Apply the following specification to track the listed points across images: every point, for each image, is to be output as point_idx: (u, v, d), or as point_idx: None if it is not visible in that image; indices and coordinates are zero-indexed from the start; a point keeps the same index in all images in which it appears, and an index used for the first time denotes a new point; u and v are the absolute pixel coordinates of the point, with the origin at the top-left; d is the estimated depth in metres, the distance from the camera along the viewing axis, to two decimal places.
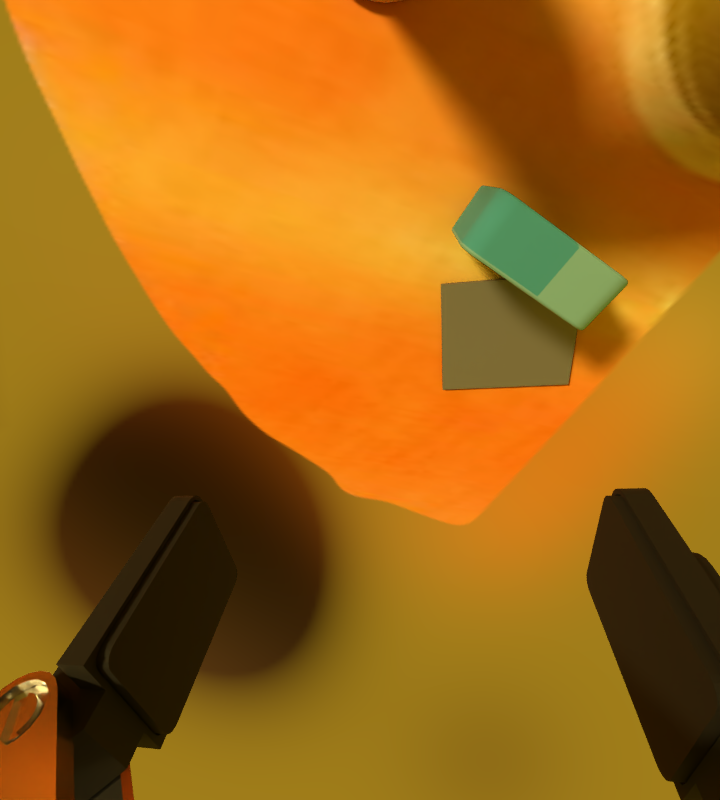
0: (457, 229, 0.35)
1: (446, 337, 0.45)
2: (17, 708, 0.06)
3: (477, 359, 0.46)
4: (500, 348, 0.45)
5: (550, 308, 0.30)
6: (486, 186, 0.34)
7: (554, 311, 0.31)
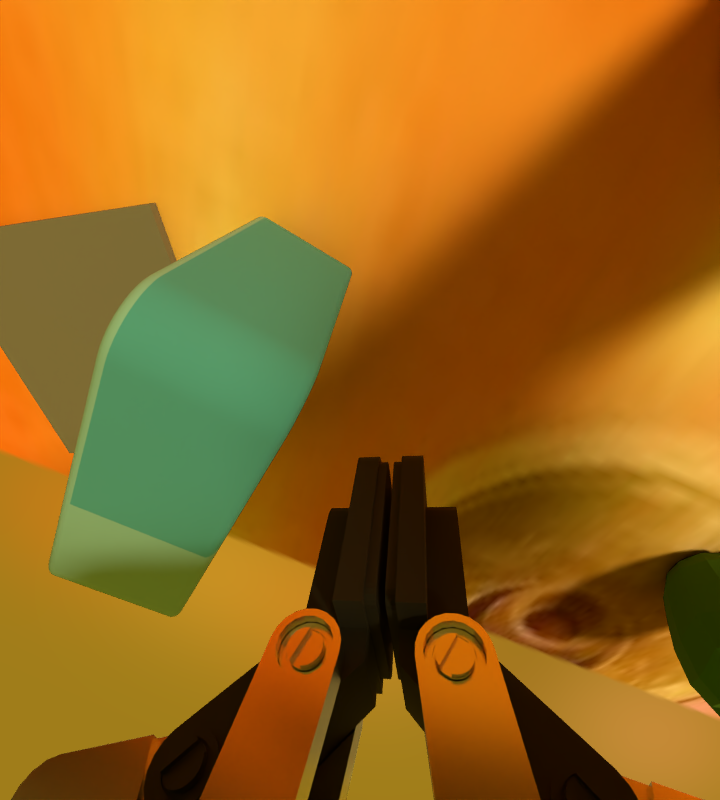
0: (244, 237, 0.14)
1: (45, 231, 0.20)
2: (302, 640, 0.07)
3: (34, 304, 0.22)
4: (75, 344, 0.23)
5: (58, 528, 0.12)
6: (344, 290, 0.15)
7: (56, 535, 0.12)
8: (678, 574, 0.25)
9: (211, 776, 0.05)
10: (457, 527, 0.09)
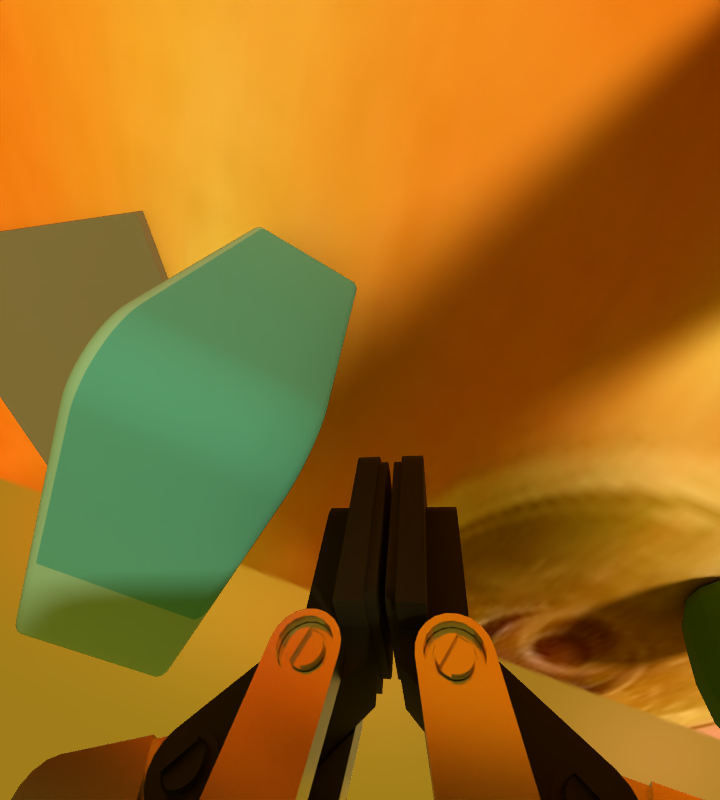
0: (239, 252, 0.12)
1: (23, 241, 0.18)
2: (302, 640, 0.07)
3: (12, 319, 0.20)
4: (57, 361, 0.21)
5: (24, 588, 0.10)
6: (349, 309, 0.14)
7: (22, 595, 0.11)
8: (699, 602, 0.24)
9: (211, 776, 0.05)
10: (457, 527, 0.09)
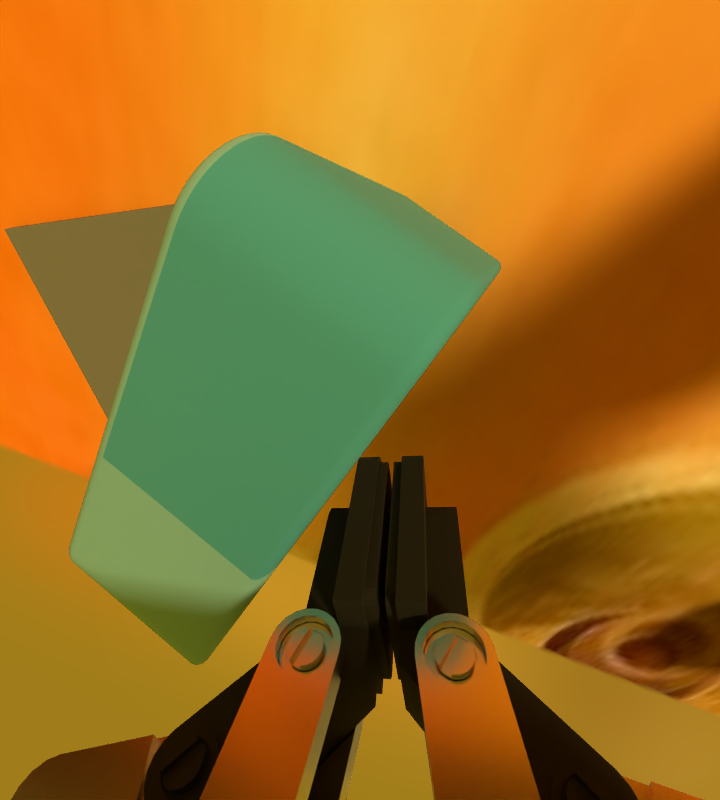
0: (384, 188, 0.11)
1: (142, 222, 0.17)
2: (301, 641, 0.07)
3: (117, 306, 0.19)
4: None
5: (86, 493, 0.09)
6: (497, 267, 0.12)
7: (82, 503, 0.09)
8: None
9: (211, 776, 0.05)
10: (457, 527, 0.09)
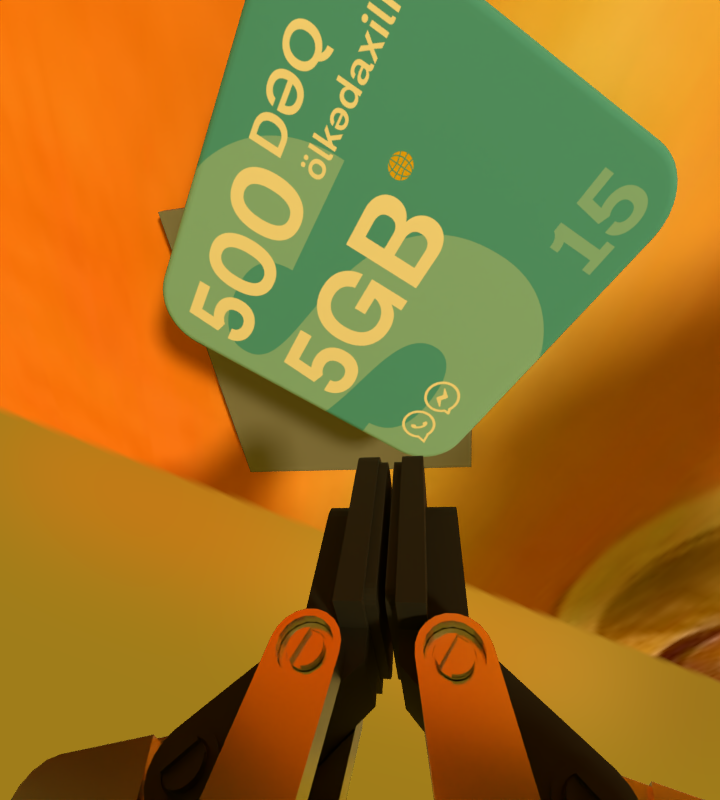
0: None
1: None
2: (301, 640, 0.07)
3: None
4: None
5: None
6: (577, 76, 0.10)
7: None
8: None
9: (211, 776, 0.05)
10: (457, 527, 0.09)
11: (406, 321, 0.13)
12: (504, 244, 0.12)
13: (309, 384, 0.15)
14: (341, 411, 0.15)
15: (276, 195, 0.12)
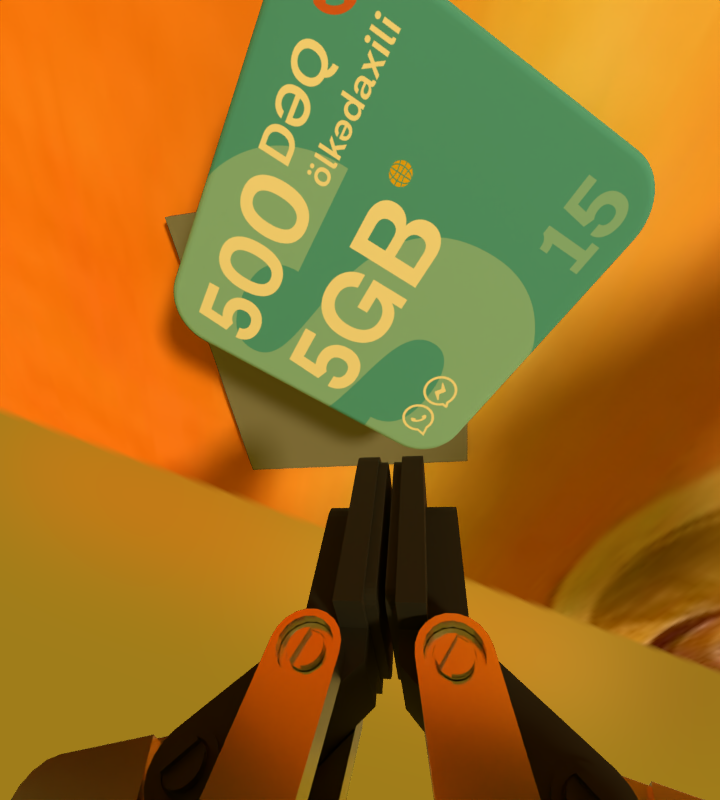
0: None
1: None
2: (301, 640, 0.07)
3: None
4: None
5: None
6: (562, 92, 0.11)
7: None
8: None
9: (211, 776, 0.05)
10: (457, 527, 0.09)
11: (406, 319, 0.14)
12: (497, 246, 0.12)
13: (313, 380, 0.16)
14: (344, 406, 0.16)
15: (283, 201, 0.12)
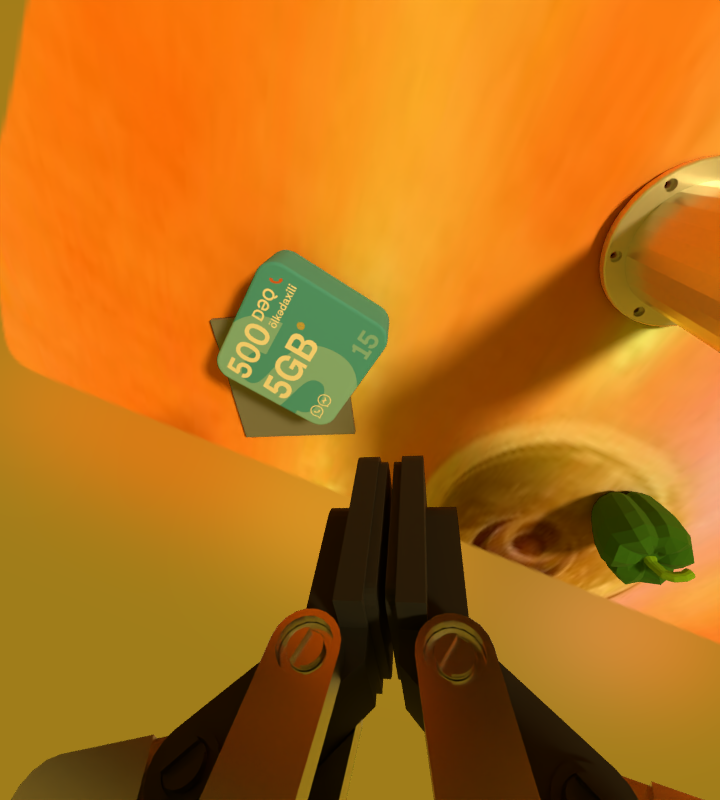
0: (348, 287, 0.36)
1: None
2: (301, 640, 0.07)
3: None
4: None
5: None
6: (349, 306, 0.33)
7: None
8: (598, 503, 0.46)
9: (211, 776, 0.05)
10: (457, 527, 0.09)
11: (307, 372, 0.36)
12: (337, 349, 0.35)
13: (273, 394, 0.38)
14: (286, 405, 0.38)
15: (260, 331, 0.35)
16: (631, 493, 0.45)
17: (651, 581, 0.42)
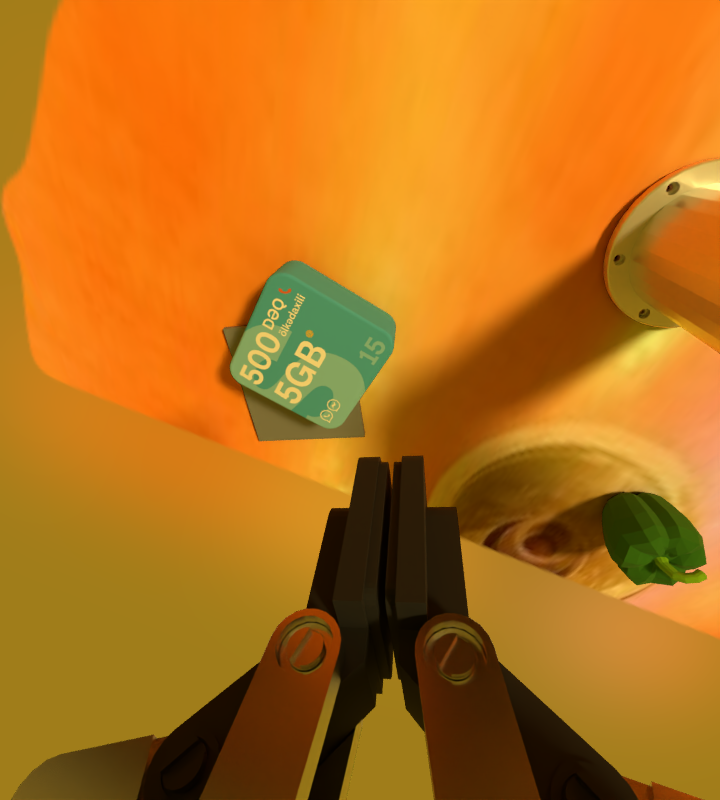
0: (355, 295, 0.37)
1: None
2: (302, 640, 0.07)
3: None
4: None
5: None
6: (356, 314, 0.34)
7: None
8: (608, 504, 0.46)
9: (211, 776, 0.05)
10: (457, 527, 0.09)
11: (317, 378, 0.37)
12: (345, 356, 0.36)
13: (284, 400, 0.39)
14: (296, 410, 0.39)
15: (270, 340, 0.36)
16: (642, 494, 0.45)
17: (663, 582, 0.42)
